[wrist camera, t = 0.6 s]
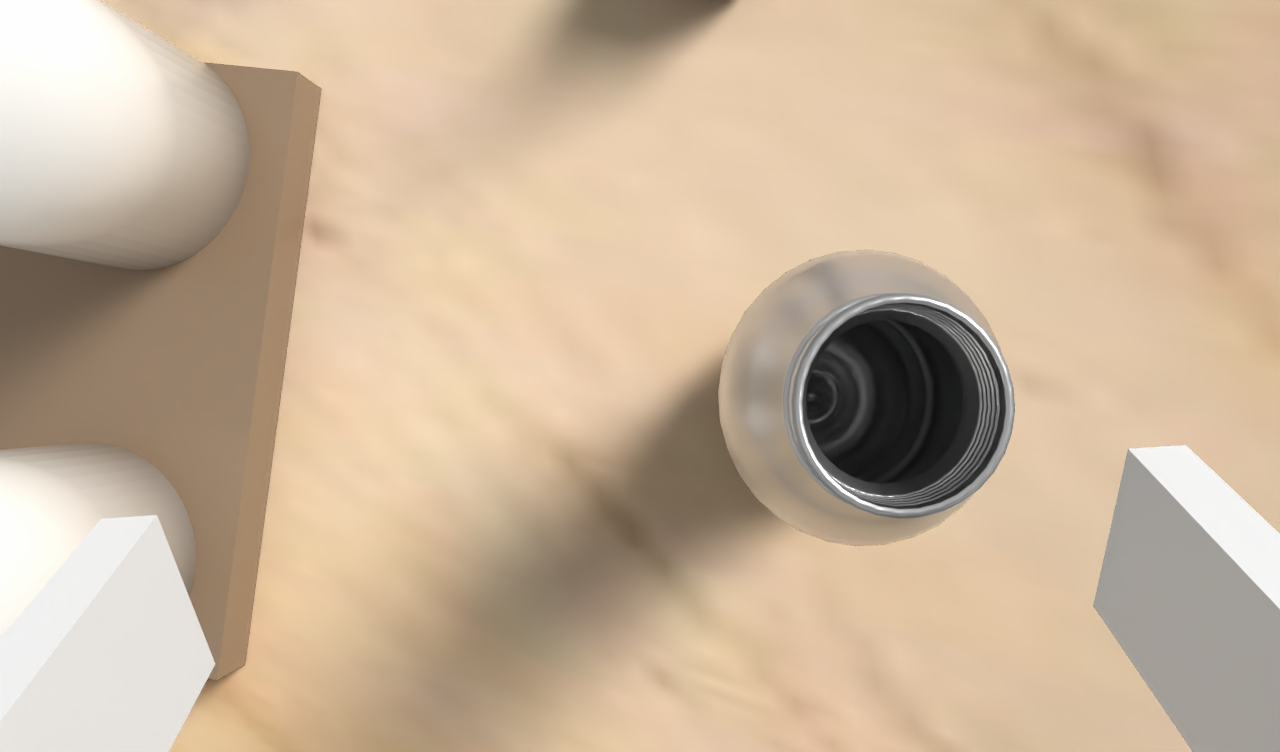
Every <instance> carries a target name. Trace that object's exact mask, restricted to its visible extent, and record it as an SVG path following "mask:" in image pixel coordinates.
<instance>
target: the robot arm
mask: <svg viewBox="0 0 1280 752" xmlns="http://www.w3.org/2000/svg"><path fill="white" fill-rule="evenodd" d="M1093 606H1094V608H1095V609H1096V611H1097V612H1098V614H1099V615H1100V616H1101V618H1102V619H1103V621H1104V622H1105V624H1106V625H1107V627H1108V628H1109V630H1110V631H1111V633H1112V634H1113V636H1114V637H1115V638H1116V640H1117V641H1118V643H1119V644H1120V646H1121V647H1122V649H1123V650H1124V652H1125V653H1126V655H1127V656H1128V657H1129V659H1130V660H1131V662H1132V663H1133V665H1134V666H1135V668H1136V669H1137V671H1138V672H1139V674H1140V675H1141V677H1142V678H1143V679H1144V681H1145V682H1146V684H1147V685H1148V687H1149V688H1150V690H1151V691H1152V693H1153V694H1154V696H1155V697H1156V699H1157V700H1158V701H1159V703H1160V704H1161V706H1162V707H1163V709H1164V710H1165V712H1166V713H1167V715H1168V716H1169V718H1170V719H1171V721H1172V722H1173V723H1174V725H1175V726H1176V728H1177V729H1178V731H1179V732H1180V734H1181V735H1182V737H1183V738H1184V740H1185V741H1186V742H1187V744H1188V745H1189V747H1190V748H1191V750H1192V751H1193V752H1280V534H1279V533H1278V532H1277V531H1276V530H1275V529H1274V528H1273V527H1272V526H1271V525H1270V524H1269V523H1268V522H1267V521H1266V520H1265V519H1263V518H1262V517H1261V516H1260V515H1259V514H1258V513H1257V512H1256V511H1255V510H1254V509H1253V508H1252V507H1251V506H1250V505H1249V504H1248V503H1247V502H1245V501H1244V500H1243V499H1242V498H1241V497H1240V496H1239V495H1238V494H1237V493H1236V492H1235V491H1234V490H1233V489H1232V488H1231V487H1230V486H1229V485H1227V484H1226V483H1225V482H1224V481H1223V480H1222V479H1221V478H1220V477H1219V476H1218V475H1217V474H1216V473H1215V472H1214V471H1213V470H1212V469H1211V468H1209V467H1208V466H1207V465H1206V464H1205V463H1204V462H1203V461H1202V460H1201V459H1200V458H1199V457H1198V456H1197V455H1196V454H1195V453H1194V452H1193V451H1191V450H1190V449H1189V448H1188V447H1187V446H1186V445H1177V446H1163V447H1148V448H1133V449H1128V452H1127V456H1126V461H1125V465H1124V470H1123V474H1122V479H1121V483H1120V488H1119V492H1118V497H1117V501H1116V506H1115V510H1114V515H1113V520H1112V524H1111V529H1110V533H1109V538H1108V542H1107V547H1106V551H1105V556H1104V560H1103V565H1102V569H1101V574H1100V578H1099V583H1098V587H1097V592H1096V596H1095V601H1094V605H1093ZM214 666H215V662H214V659H213V657H212V654H211V652H210V649H209V646H208V644H207V641H206V639H205V636H204V634H203V631H202V629H201V626H200V623H199V621H198V618H197V616H196V613H195V611H194V608H193V606H192V603H191V600H190V598H189V595H188V593H187V590H186V588H185V585H184V583H183V580H182V578H181V575H180V572H179V570H178V567H177V565H176V562H175V560H174V557H173V555H172V552H171V549H170V547H169V544H168V542H167V539H166V537H165V534H164V532H163V529H162V526H161V524H160V521H159V519H158V516H157V515H150V516H135V517H120V518H106V519H100V521H99V522H98V523H97V524H96V525H95V527H94V528H93V529H92V530H91V531H90V532H89V534H88V535H87V536H86V537H85V538H84V540H83V541H82V542H81V543H80V544H79V545H78V547H77V548H76V549H75V550H74V551H73V553H72V554H71V555H70V556H69V557H68V558H67V560H66V561H65V562H64V563H63V564H62V566H61V567H60V568H59V569H58V570H57V572H56V573H55V574H54V575H53V576H52V577H51V579H50V580H49V581H48V582H47V583H46V585H45V586H44V587H43V588H42V589H41V590H40V592H39V593H38V594H37V595H36V596H35V598H34V599H33V600H32V601H31V602H30V603H29V605H28V606H27V607H26V608H25V609H24V611H23V612H22V613H21V614H20V615H19V616H18V618H17V619H16V620H15V621H14V622H13V624H12V625H11V626H10V627H9V628H8V629H7V631H6V632H5V633H4V634H3V635H2V637H1V638H0V752H169V750H170V749H171V747H172V745H173V743H174V741H175V739H176V737H177V735H178V733H179V732H180V730H181V728H182V726H183V724H184V722H185V720H186V718H187V717H188V715H189V713H190V711H191V709H192V707H193V705H194V703H195V702H196V700H197V698H198V696H199V694H200V692H201V690H202V688H203V686H204V685H205V683H206V681H207V679H208V677H209V675H210V673H211V671H212V670H213V668H214Z"/></svg>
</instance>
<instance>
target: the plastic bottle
mask: <svg viewBox="0 0 1280 752" xmlns="http://www.w3.org/2000/svg"><path fill="white" fill-rule="evenodd" d="M718 397H719V414H720V423H721V427H722V431H723V435H724V439H725V443H726V447H727V450H728V452H729V454H730V456H731V458H732V460H733V463H734V465H735V467H736V469H737V471H738V473H739V475H740V476H741V478H742V479H743V480H744V482H745V483H746V485H747V486H748V487H749V489H750V490H751V491H752V493H753V494H754V496H755V497H756V498H757V499H758V500H759V501H760V502H761V503H762V504H764V505H765V506H766V507H767V508H768V509H769V510H770V511H771V512H772V513H773V514H774V515H775V516H776V517H778V518H780V519H781V520H783V521H784V522H786V523H788V524H789V525H791V526H793V527H794V528H796V529H797V530H799V531H801V532H803V533H806V534H809V535H811V536H814V537H817V538H819V539H822V540H825V541H827V542H833V543H840V544H846V545H853V546H867V545H885V544H889V543H893V542H897V541H901V540H905V539H909V538H913V537H915V536H917V535H919V534H921V533H923V532H925V531H927V530H929V529H932V528H934V527H936V526H938V525H939V524H941V523H942V522H943V521H945V520H946V519H947V518H949V517H950V516H951V515H953V514H954V513H955V512H956V511H958V510H959V509H960V508H962V507H963V505H964V504H965V503H966V502H967V501H968V500H969V499H970V497H971V496H972V495H973V494H974V493H975V492H976V491H977V490H978V489H980V487H981V486H982V485H983V484H984V483H985V482H986V481H987V479H988V478H989V477H990V476H991V475H992V474H993V473H994V471H995V469H996V468H997V466H998V464H999V463H1000V461H1001V459H1002V457H1003V456H1004V454H1005V451H1006V449H1007V446H1008V443H1009V440H1010V437H1011V434H1012V429H1013V421H1014V414H1015V403H1014V388H1013V384H1012V380H1011V377H1010V373H1009V369H1008V366H1007V364H1006V362H1005V360H1004V358H1003V356H1002V353H1001V349H1000V346H999V343H998V341H997V339H996V337H995V335H994V333H993V331H992V329H991V327H990V325H989V323H988V321H987V319H986V318H985V316H984V315H983V314H982V312H981V311H980V310H979V308H978V307H977V306H976V305H975V303H974V302H973V301H972V299H971V298H970V297H969V295H967V294H966V293H965V292H964V291H963V290H962V289H961V288H959V287H958V286H957V285H956V284H955V283H954V282H953V281H951V280H950V279H949V278H948V277H947V276H945V275H943V274H942V273H940V272H938V271H936V270H935V269H933V268H931V267H929V266H928V265H926V264H924V263H922V262H920V261H917V260H914V259H911V258H908V257H905V256H902V255H899V254H896V253H890V252H882V251H873V250H856V251H843V252H836V253H832V254H829V255H825V256H822V257H818V258H815V259H812V260H809V261H807V262H805V263H803V264H801V265H799V266H798V267H796V268H794V269H792V270H790V271H788V272H786V273H784V274H783V275H782V276H781V277H779V278H778V279H777V280H776V281H774V282H773V283H772V284H771V285H769V286H768V287H767V288H766V289H764V290H763V291H762V292H761V294H760V295H759V296H758V297H757V298H756V300H755V301H754V302H753V303H752V304H751V305H750V307H749V308H748V309H747V310H746V311H745V313H744V315H743V316H742V318H741V320H740V322H739V323H738V325H737V327H736V329H735V331H734V332H733V334H732V336H731V338H730V341H729V344H728V347H727V350H726V353H725V356H724V359H723V362H722V368H721V375H720V383H719V390H718Z"/></svg>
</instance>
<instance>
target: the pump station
mask: <svg viewBox="0 0 1280 752" xmlns="http://www.w3.org/2000/svg"><path fill="white" fill-rule="evenodd" d="M320 96H321V88H320V87H318V86H317V85H315V84H314V83H313V82H311V81H310V80H308V79H307V78H306V77H304V76H303V75H301V74H300V73H298V72H294V71H284V70H274V69H264V68H254V67H244V66H234V65H224V64H214V63H204V62H202V61H200V60H199V59H197V58H196V57H194V56H193V55H191V54H189V53H188V52H186V51H184V50H183V49H181V48H179V47H178V46H176V45H174V44H173V43H171V42H169V41H168V40H166V39H164V38H163V37H161V36H159V35H158V34H156V33H154V32H153V31H151V30H149V29H148V28H146V27H144V26H143V25H141V24H139V23H138V22H136V21H134V20H133V19H131V18H129V17H128V16H126V15H124V14H123V13H121V12H119V11H118V10H116V9H114V8H113V7H111V6H109V5H108V4H106V3H104V2H103V1H101V0H0V638H1V637H2V635H3V634H4V633H5V632H6V631H7V629H8V628H9V627H10V626H11V625H12V624H13V622H14V621H15V620H16V619H17V618H18V616H19V615H20V614H21V613H22V612H23V611H24V609H25V608H26V607H27V606H28V605H29V603H30V602H31V601H32V600H33V599H34V598H35V596H36V595H37V594H38V593H39V592H40V590H41V589H42V588H43V587H44V586H45V585H46V583H47V582H48V581H49V580H50V579H51V577H52V576H53V575H54V574H55V573H56V572H57V570H58V569H59V568H60V567H61V566H62V564H63V563H64V562H65V561H66V560H67V558H68V557H69V556H70V555H71V554H72V553H73V551H74V550H75V549H76V548H77V547H78V545H79V544H80V543H81V542H82V541H83V540H84V538H85V537H86V536H87V535H88V534H89V532H90V531H91V530H92V529H93V528H94V527H95V525H96V524H97V523H98V522H99V521H100V519H106V518H120V517H135V516H150V515H157V516H158V519H159V521H160V524H161V526H162V529H163V532H164V534H165V537H166V539H167V542H168V544H169V547H170V549H171V552H172V555H173V557H174V560H175V562H176V565H177V567H178V570H179V572H180V575H181V578H182V580H183V583H184V585H185V588H186V590H187V593H188V595H189V598H190V600H191V603H192V606H193V608H194V611H195V613H196V616H197V618H198V621H199V623H200V626H201V629H202V631H203V634H204V636H205V639H206V641H207V644H208V646H209V649H210V652H211V654H212V657H213V659H214V662H215V666H214V668H213V670H212V671H211V673H210V675H209V677H208V679H212V680H218V679H220V678H222V677H224V676H225V675H227V674H229V673H231V672H233V671H234V670H236V669H238V668H240V667H242V666H243V665H245V662H246V654H247V647H248V639H249V632H250V624H251V617H252V609H253V601H254V594H255V586H256V579H257V571H258V564H259V556H260V549H261V541H262V534H263V526H264V519H265V511H266V503H267V496H268V488H269V481H270V473H271V466H272V458H273V451H274V443H275V436H276V428H277V421H278V413H279V405H280V398H281V390H282V383H283V375H284V368H285V360H286V353H287V345H288V338H289V330H290V323H291V315H292V307H293V300H294V292H295V285H296V277H297V270H298V262H299V255H300V247H301V240H302V232H303V225H304V217H305V209H306V202H307V194H308V187H309V179H310V172H311V164H312V157H313V149H314V142H315V134H316V127H317V119H318V111H319V104H320Z"/></svg>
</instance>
